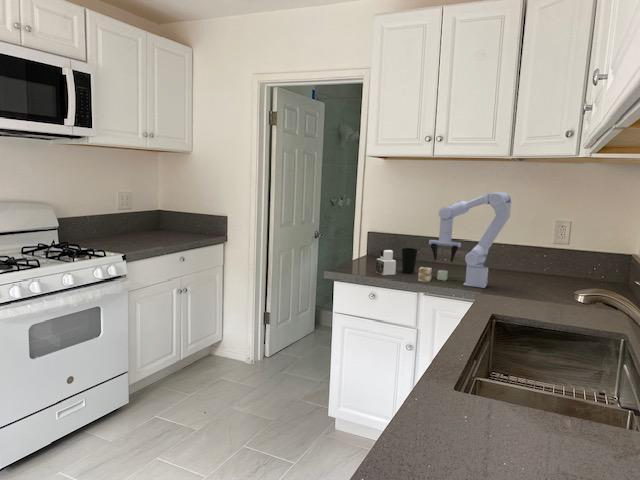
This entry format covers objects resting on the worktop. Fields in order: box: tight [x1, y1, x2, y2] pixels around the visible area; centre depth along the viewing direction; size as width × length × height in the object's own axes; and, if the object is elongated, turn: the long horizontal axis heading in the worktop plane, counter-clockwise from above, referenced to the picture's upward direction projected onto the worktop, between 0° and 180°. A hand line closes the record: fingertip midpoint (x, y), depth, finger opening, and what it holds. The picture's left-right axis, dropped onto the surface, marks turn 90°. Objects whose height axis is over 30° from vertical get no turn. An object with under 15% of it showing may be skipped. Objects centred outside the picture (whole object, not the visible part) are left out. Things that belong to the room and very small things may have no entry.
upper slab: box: [418, 266, 433, 276], centre depth 223 cm, size 5×5×3 cm
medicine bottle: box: [375, 248, 397, 276], centre depth 235 cm, size 7×7×12 cm
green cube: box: [436, 269, 449, 281], centre depth 228 cm, size 4×4×4 cm
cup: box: [401, 247, 418, 275], centre depth 239 cm, size 8×8×12 cm
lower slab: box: [417, 274, 432, 283], centre depth 223 cm, size 5×5×3 cm
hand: (443, 260), depth 227 cm, fingers open, 7 cm apart
